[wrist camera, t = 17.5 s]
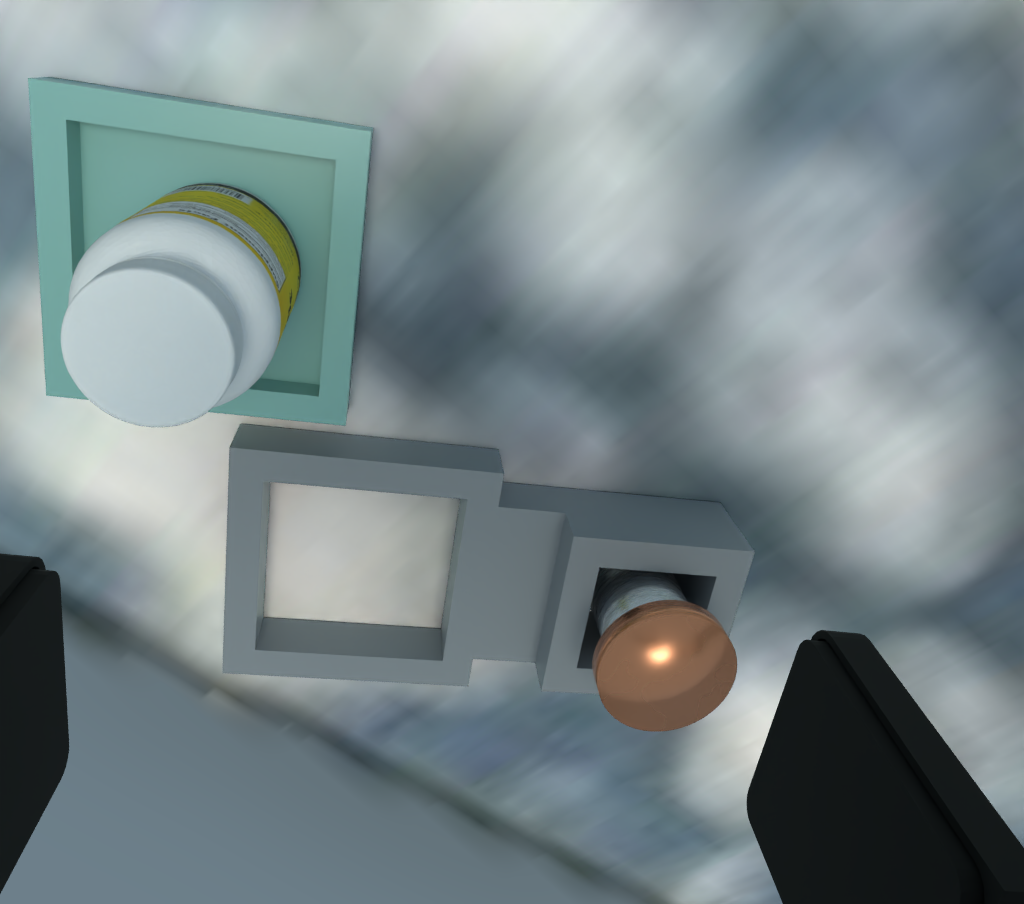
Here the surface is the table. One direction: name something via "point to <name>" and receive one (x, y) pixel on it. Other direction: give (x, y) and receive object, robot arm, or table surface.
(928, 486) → the table surface
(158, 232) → the supplement bottle
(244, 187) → the tray
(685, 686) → the plunger
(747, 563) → the housing
